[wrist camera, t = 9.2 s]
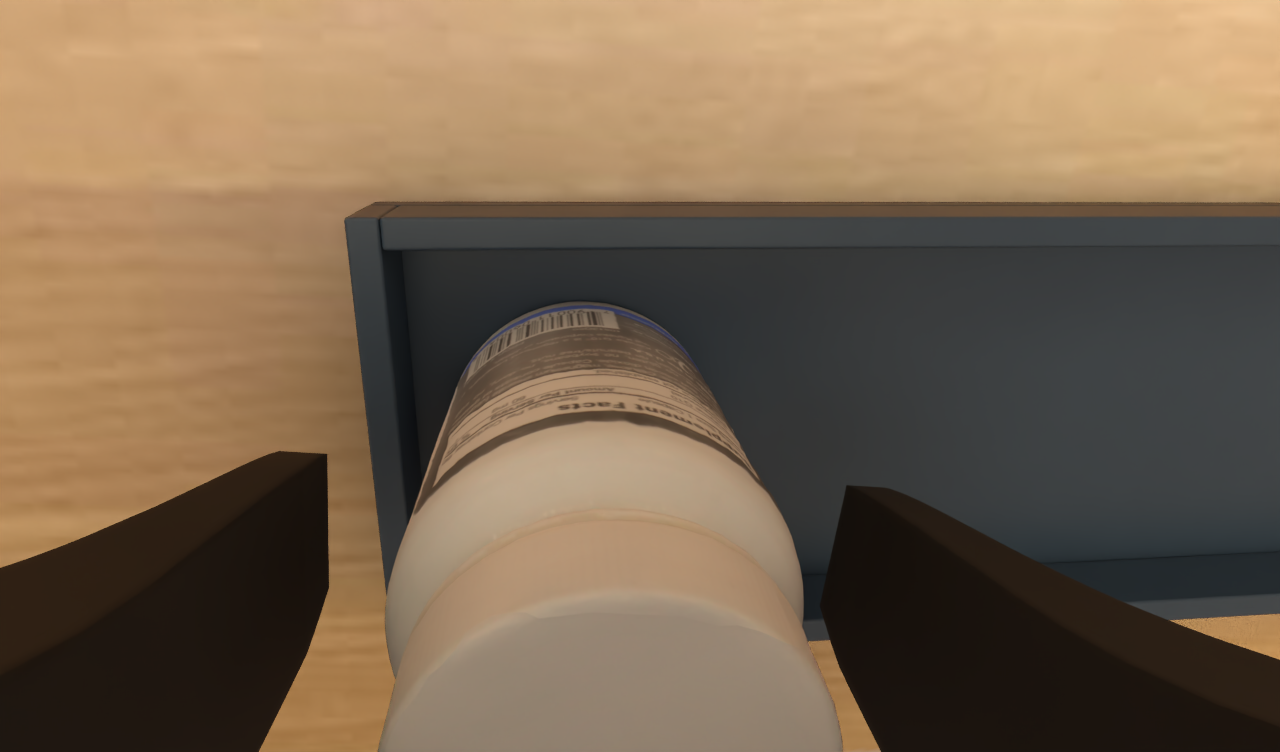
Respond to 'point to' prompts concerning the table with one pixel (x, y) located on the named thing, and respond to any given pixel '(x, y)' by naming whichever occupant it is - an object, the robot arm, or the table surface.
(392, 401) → the tray
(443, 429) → the pill bottle
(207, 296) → the table surface
